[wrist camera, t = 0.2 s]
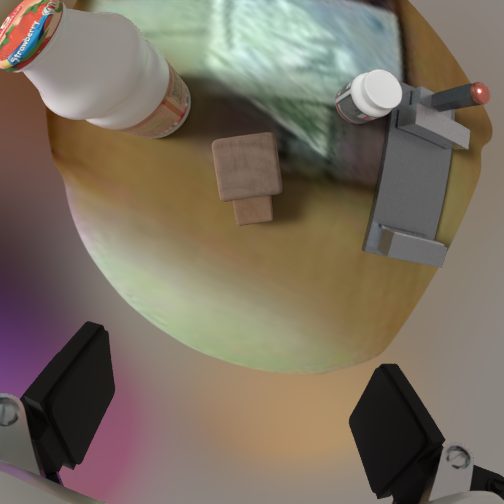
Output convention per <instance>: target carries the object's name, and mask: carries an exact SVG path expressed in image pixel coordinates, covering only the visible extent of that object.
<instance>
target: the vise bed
mask: <svg viewBox="0 0 504 504" xmlns="http://www.w3.org/2000/svg"><path fill="white" fill-rule="evenodd" d="M398 82H399V84H400V86H401V89H402V99H401V101H400V103H399V104H398V105H397V106H396V107H394V108H392V110H391V111H390V112H389V113H388V119H387V126H386V133H385V140H384V146H383V153H382V159H381V164H380V170H379V175H378V180H377V185H376V190H375V195H374V200H373V205H372V209H371V213H370V218H369V222H368V226H367V230H366V234H365V238H364V242H363V246H362V250H363V251H364V252H368V253H373V254H378V255H383V256H387V257H390V258H396V259H401V260H406V261H411V262H416V263H421V264H426V265H431V266H436V267H442V265H443V262H444V259H445V255H446V252H447V249H448V248H447V247H445V246H444V244H443V243H441V242H439V241H437V240H434V238H435V234H436V230H437V226H438V222H439V218H440V214H441V209H442V204H443V200H444V195H445V189H446V184H447V178H448V172H449V166H450V159H451V151H452V149H446V148H444V147H442V146H440V145H438V144H436V143H433V142H431V141H429V140H427V139H424V138H422V137H420V136H417V135H415V134H412V133H410V132H407V131H405V130H402V129H400V128H397V124H398V116H399V108H402V107H405V106H408V105H412V93H413V89H415V88H413V87H411V86H409V85H407V84H404V83H402V82H400V81H398ZM451 120H453V121H455V109H453V110H451Z"/></svg>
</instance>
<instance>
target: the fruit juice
mask: <svg viewBox="0 0 504 504" xmlns="http://www.w3.org/2000/svg"><path fill="white" fill-rule="evenodd" d="M0 68H1V69H3V70H5V71H8V72H21V71H23V72H24V73H25V75H26V76H27V77H28V78H29V79H30V80H31V81H32V83H33V84H34V85H35V86H36V87H37V88H38V90H39V91H40V94H41V97H42V99H43V101H44V103H45V104H46V105H47V107H48V108H49V109H51V110H52V111H53V112H54V113H56V114H58V115H60V116H63V117H66V118H69V119H74V120H86V121H88V122H90V123H92V124H94V125H97V126H100V127H103V128H106V129H112V130H116V131H120V132H124V133H128V134H133V135H136V136H140V137H144V138H161V137H165V136H167V135H169V134H171V133H173V132H174V131H176V130H177V129H178V128H179V127H180V126H181V125H182V124H183V123H184V121H185V120H186V118H187V116H188V114H189V111H190V107H191V97H190V92H189V90H188V87H187V86H186V84H185V83H184V81H183V80H182V79H181V78H180V76H179V75H178V74H177V72H176V71H175V70H174V69H173V67H172V66H171V65H170V63H169V62H168V61H167V60H166V58H165V57H164V56H163V54H162V53H161V52H160V51H159V50H158V49H157V48H156V47H155V46H154V45H153V44H152V43H150V42H149V41H148V40H146V39H144V37H143V34H142V32H141V31H140V29H139V28H138V27H137V26H136V25H135V24H134V23H133V22H132V21H131V20H129V19H128V18H126V17H124V16H122V15H120V14H117V13H112V12H99V13H91V12H84V11H78V10H72V9H66V7H65V4H64V3H63V2H62V1H61V0H24V1H23V2H22V3H21V4H19V5H18V7H16V8H15V9H14V10H13V12H12V13H11V14H10V15H9V16H8V18H7V19H6V20H5V22H4V23H3V25H2V27H1V28H0Z"/></svg>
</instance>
